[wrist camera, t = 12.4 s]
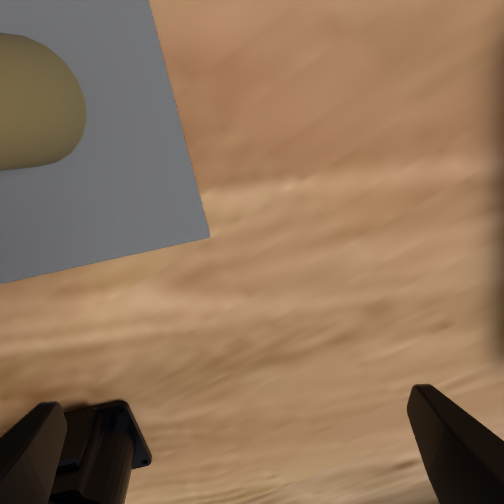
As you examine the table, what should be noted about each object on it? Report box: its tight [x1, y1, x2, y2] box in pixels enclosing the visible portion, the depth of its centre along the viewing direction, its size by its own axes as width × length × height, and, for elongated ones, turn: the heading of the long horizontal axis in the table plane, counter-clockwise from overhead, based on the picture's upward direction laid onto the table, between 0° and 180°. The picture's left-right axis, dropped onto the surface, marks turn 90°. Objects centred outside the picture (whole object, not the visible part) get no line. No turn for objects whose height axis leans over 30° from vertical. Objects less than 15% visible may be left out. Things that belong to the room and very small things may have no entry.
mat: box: [0, 0, 210, 284], centre depth 18 cm, size 18×14×1 cm
